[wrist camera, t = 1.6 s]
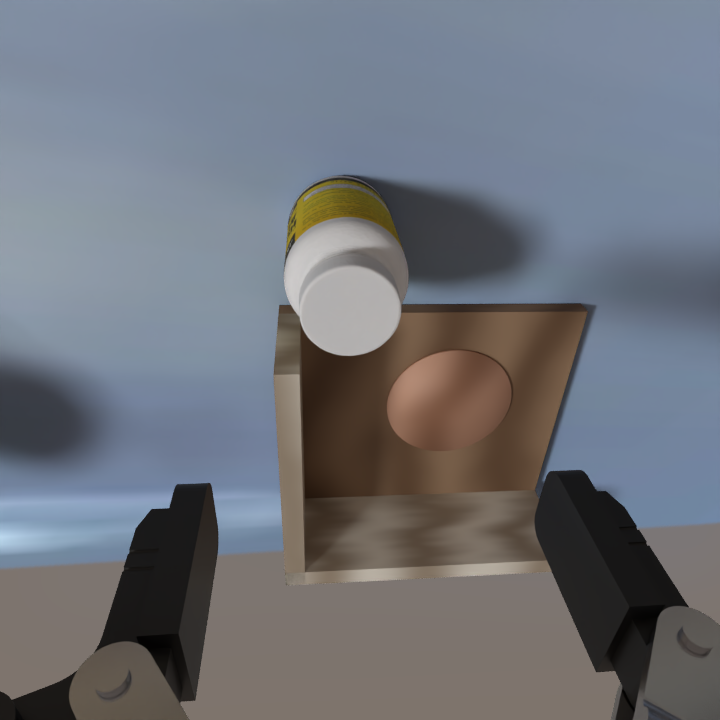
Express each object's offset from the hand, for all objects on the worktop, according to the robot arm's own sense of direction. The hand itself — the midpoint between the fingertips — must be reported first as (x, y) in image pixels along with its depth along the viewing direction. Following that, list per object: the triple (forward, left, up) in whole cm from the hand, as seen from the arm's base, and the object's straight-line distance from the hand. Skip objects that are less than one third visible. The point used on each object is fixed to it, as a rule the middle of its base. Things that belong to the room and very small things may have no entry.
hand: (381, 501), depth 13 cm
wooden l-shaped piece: (+5, +13, -19) cm, 24 cm away
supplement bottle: (0, 0, -20) cm, 20 cm away
